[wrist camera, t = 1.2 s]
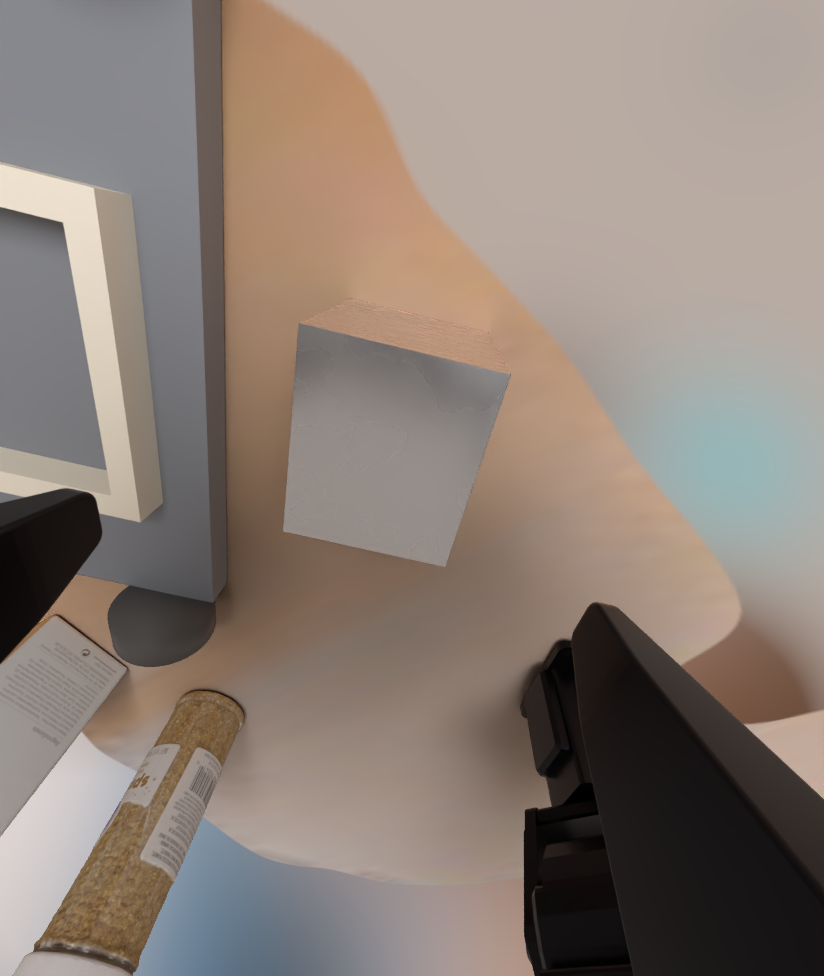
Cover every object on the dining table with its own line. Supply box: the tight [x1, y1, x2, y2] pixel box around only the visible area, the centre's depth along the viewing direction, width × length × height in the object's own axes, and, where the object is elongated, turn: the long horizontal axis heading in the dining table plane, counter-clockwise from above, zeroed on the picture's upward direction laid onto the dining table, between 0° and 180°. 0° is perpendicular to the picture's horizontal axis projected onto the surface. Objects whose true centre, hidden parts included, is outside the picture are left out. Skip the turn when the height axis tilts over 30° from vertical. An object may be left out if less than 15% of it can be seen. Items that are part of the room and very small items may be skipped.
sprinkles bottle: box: [13, 691, 244, 976], centre depth 22 cm, size 5×5×13 cm
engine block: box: [283, 298, 511, 567], centre depth 14 cm, size 5×6×6 cm
